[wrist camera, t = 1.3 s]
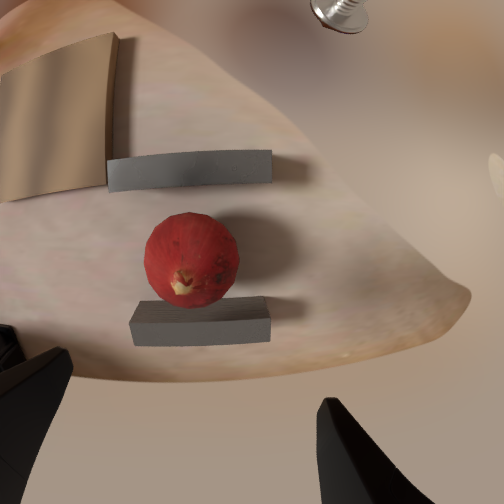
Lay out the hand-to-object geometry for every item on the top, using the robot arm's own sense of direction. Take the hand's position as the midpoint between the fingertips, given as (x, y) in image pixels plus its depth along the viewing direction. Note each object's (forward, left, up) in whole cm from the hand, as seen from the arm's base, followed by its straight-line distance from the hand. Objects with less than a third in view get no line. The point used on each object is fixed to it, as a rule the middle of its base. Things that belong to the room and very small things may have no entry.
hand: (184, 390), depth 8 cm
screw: (+11, +20, -14) cm, 27 cm away
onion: (0, +1, -14) cm, 14 cm away
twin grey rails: (0, +1, -13) cm, 14 cm away
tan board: (-12, +12, -13) cm, 22 cm away
